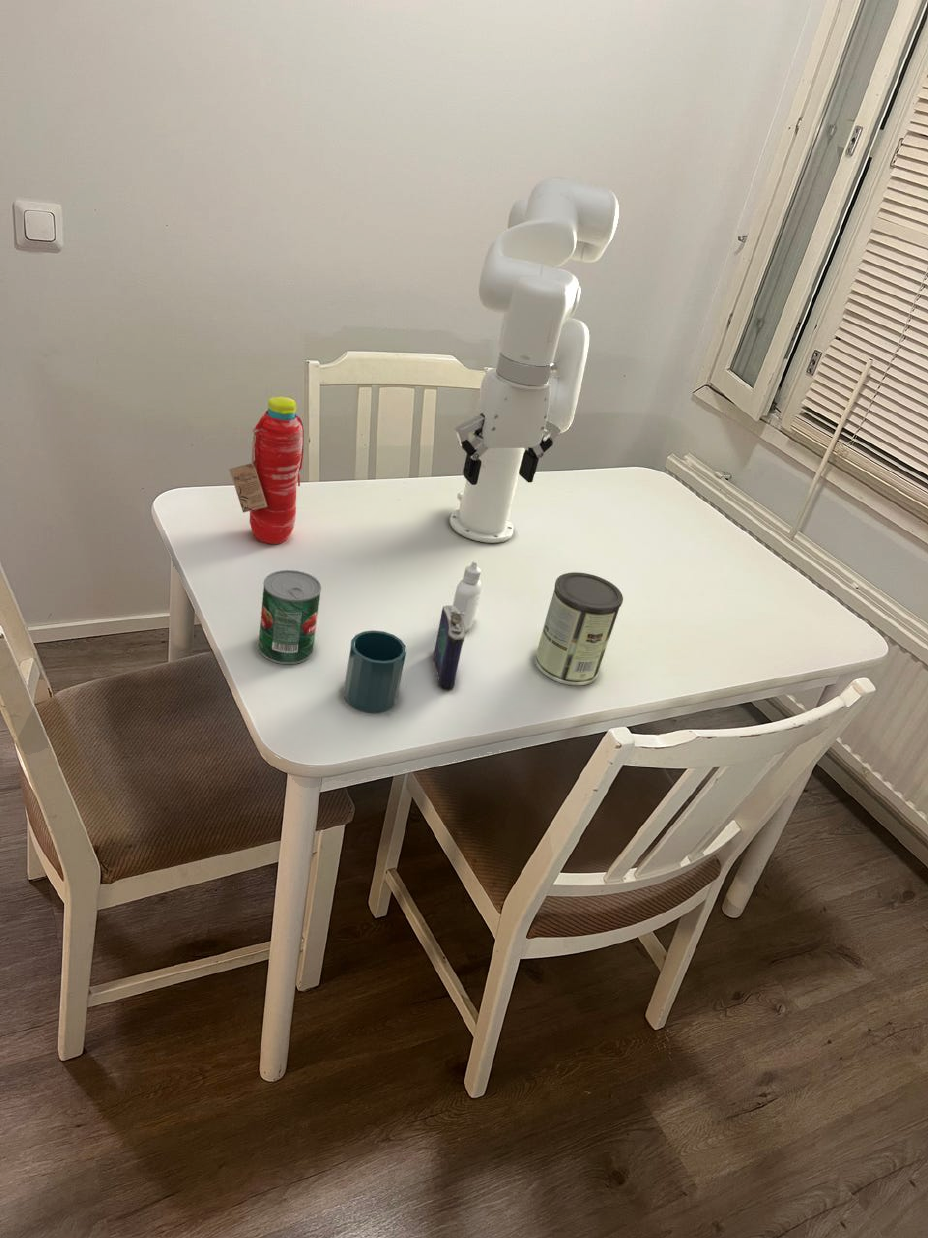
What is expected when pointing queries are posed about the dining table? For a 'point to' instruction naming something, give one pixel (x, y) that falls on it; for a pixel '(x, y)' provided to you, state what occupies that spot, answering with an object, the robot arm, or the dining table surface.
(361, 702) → the teal cup
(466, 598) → the eye dropper bottle
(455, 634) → the flask
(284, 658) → the canned tomato
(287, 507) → the water bottle
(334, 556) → the dining table surface
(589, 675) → the coffee can
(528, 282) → the robot arm
